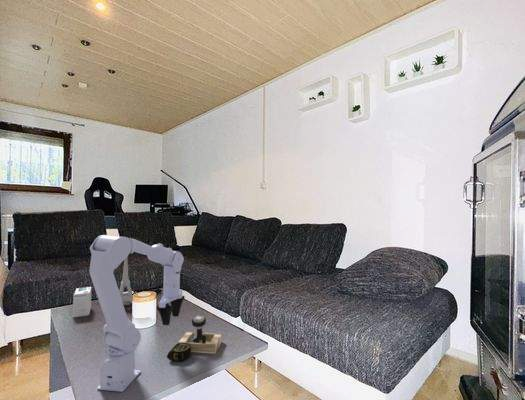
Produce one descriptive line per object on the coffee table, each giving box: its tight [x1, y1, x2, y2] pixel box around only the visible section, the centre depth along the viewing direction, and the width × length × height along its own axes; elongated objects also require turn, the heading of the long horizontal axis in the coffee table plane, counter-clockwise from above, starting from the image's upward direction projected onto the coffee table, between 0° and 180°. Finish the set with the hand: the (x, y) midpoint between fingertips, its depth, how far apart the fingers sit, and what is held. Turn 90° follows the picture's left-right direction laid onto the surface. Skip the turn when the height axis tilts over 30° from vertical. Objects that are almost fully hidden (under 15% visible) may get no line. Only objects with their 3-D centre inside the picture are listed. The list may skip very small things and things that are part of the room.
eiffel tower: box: [118, 256, 135, 303], centre depth 143 cm, size 13×13×30 cm
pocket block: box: [177, 331, 223, 355], centre depth 104 cm, size 9×14×3 cm, turn 83°
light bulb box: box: [72, 286, 92, 318], centre depth 134 cm, size 11×7×11 cm, turn 28°
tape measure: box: [166, 343, 192, 362], centre depth 97 cm, size 7×7×4 cm
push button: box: [191, 315, 207, 343], centre depth 104 cm, size 7×5×10 cm
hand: (171, 320), depth 102 cm, fingers open, 7 cm apart
